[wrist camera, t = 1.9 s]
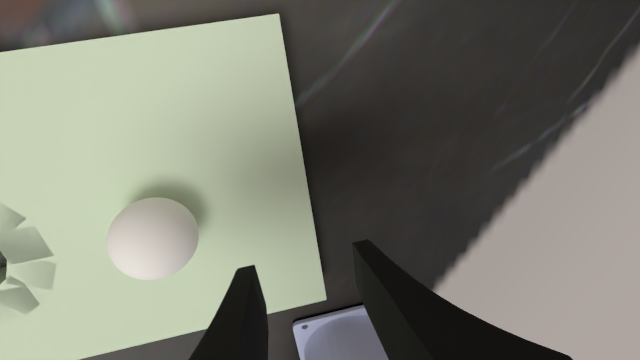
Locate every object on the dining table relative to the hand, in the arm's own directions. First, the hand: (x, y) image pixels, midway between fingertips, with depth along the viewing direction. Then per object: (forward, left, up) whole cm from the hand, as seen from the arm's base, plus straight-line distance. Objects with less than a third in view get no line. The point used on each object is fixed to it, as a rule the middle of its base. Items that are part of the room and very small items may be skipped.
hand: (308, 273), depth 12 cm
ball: (+7, 0, -5) cm, 9 cm away
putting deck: (+11, 0, -9) cm, 14 cm away
